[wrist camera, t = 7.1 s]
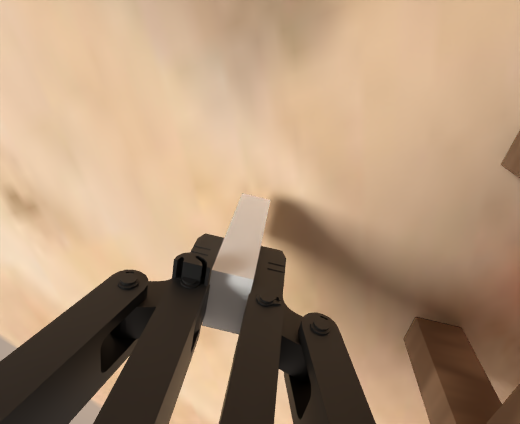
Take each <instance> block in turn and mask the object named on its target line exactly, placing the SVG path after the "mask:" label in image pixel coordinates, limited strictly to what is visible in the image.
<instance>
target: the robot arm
mask: <svg viewBox="0 0 520 424" xmlns="http://www.w3.org/2000/svg"><path fill="white" fill-rule="evenodd" d="M270 201H271V200H269V199H265V198H261V197H256V196H252V195H248V194H244V193H242V195H241V197H240V200H239V202H238V205H237V207H236V210H235V212H234V215H233V217H232V220H231V223H230V225H229V228H228V230H227V233H226V235H225V238H222V237H218V236H214V235H209V234H204V235H202V236H201V237H199V238H198V239H197V241H196V243H195V245H194V247H193V248H192V250H191V252H190V253H183V254H181V255H178V256H177V257H176V258H175V259H174V265H173V275H172V279H170V280H166V281H148V278H147V277H146V275H145V274H143V273H142V272H140V271H136V270H123V271H119V272H117V273H115V274H113V275H112V276H111V277H109V278H108V279H107V280H105V281H104V282H103V283H102V284H100V285H99V286H98V287H96V288H95V289H94V290H92V291H91V292H90V293H89V294H87V295H86V296H85V297H83V298H82V299H81V300H79V301H78V302H77V303H76V304H74V305H73V306H72V307H70V308H69V309H68V310H66V311H65V312H64V313H63V314H61V315H60V316H59V317H57V318H56V319H55V320H54V321H52V322H51V323H50V324H48V325H47V326H46V327H44V328H43V329H42V330H41V331H39V332H38V333H37V334H35V335H34V336H33V337H31V338H30V339H29V340H28V341H26V342H25V343H24V344H22V345H21V346H20V347H19V348H17V349H16V350H15V351H13V352H12V353H11V354H10V355H8V356H7V357H6V358H4V359H3V360H2V361H0V424H69V423H70V421H71V420H72V419H73V418H74V417H75V416H76V415H77V414H78V412H79V411H80V410H81V409H82V408H83V407H84V406H85V405H86V404H87V402H88V401H89V400H90V399H91V398H92V397H93V396H94V395H95V394H96V392H97V391H98V390H99V389H100V388H101V387H102V386H103V385H104V384H105V382H106V381H107V380H108V379H109V378H110V377H111V376H112V375H113V373H114V372H115V371H116V370H117V369H118V368H119V367H120V366H121V365H122V363H123V362H124V361H125V360H126V359H127V358H128V357H129V356H130V357H129V358H128V360H127V362H126V364H125V366H124V368H123V370H122V371H121V373H120V375H119V377H118V379H117V381H116V382H115V384H114V386H113V388H112V390H111V392H110V394H109V395H108V397H107V399H106V401H105V403H104V405H103V407H102V408H101V410H100V412H99V414H98V416H97V418H96V420H95V422H94V423H93V424H169V421H170V418H171V415H172V413H173V410H174V407H175V404H176V401H177V398H178V395H179V392H180V390H181V387H182V384H183V381H184V378H185V375H186V372H187V370H188V367H189V364H190V361H191V358H192V355H193V352H194V349H195V347H196V344H197V341H198V338H199V334H200V328H201V325H202V326H207V327H211V328H215V329H219V330H223V331H227V332H232V333H236V334H239V337H238V342H237V346H236V350H235V354H234V358H233V363H232V368H231V372H230V377H229V381H228V385H227V390H226V394H225V399H224V403H223V407H222V412H221V416H220V421H219V424H274V415H275V404H276V392H277V381H278V369H280V370H282V371H284V378H285V383H286V388H287V393H288V398H289V403H290V409H291V414H292V419H293V424H376V423H375V420H374V418H373V415H372V413H371V410H370V408H369V405H368V403H367V400H366V397H365V395H364V392H363V390H362V387H361V385H360V382H359V380H358V377H357V375H356V372H355V369H354V367H353V364H352V362H351V359H350V357H349V354H348V352H347V349H346V347H345V344H344V341H343V339H342V336H341V334H340V331H339V329H338V327H337V325H336V324H335V322H334V321H333V320H332V319H330V318H329V317H327V316H325V315H323V314H320V313H308V314H307V315H305V316H304V317H302V316H300V315H298V314H296V313H295V312H293V311H291V310H290V309H289V308H288V307H287V306H286V304H285V303H284V300H283V286H284V275H285V274H284V273H285V264H286V258H285V256H284V254H283V252H282V251H280V250H276V249H272V248H268V247H263V246H261V243H262V238H263V233H264V229H265V224H266V219H267V215H268V210H269V205H270ZM202 322H203V324H202Z"/></svg>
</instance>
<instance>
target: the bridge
mask: <svg viewBox="0 0 520 424" xmlns="http://www.w3.org/2000/svg"><path fill="white" fill-rule="evenodd" d="M501 165H502V166H503V167H505V168H506V169H508V170H509V171H511V172H512V173H514V174H515V175H516V176H518V177H519V178H520V131H519V133H518V135H517V137H516V138H515V140H514V142H513V144H512V146H511V147H510V149H509V151H508V153H507V155H506V156H505V158H504V160H503V162H502V163H501ZM404 341H405V345H406V348H407V351H408V354H409V357H410V361H411V364H412V367H413V370H414V373H415V377H416V380H417V383H418V386H419V389H420V392H421V396H422V399H423V402H424V405H425V408H426V412H427V415H428V418H429V421H430V424H520V384H519V385H518V387H517V388H516V389H515V390H514V391H513V392H512V394H511V395H510V396H509V397H508V398H507V399H506V401H505V402H504V403H503V404H501V402H500V400H499V398H498V396H497V394H496V392H495V390H494V389H493V387H492V385H491V383H490V381H489V379H488V377H487V375H486V373H485V371H484V369H483V367H482V365H481V364H480V362H479V360H478V358H477V356H476V354H475V352H474V350H473V348H472V346H471V344H470V342H469V341H468V339H467V337H466V335H465V333H464V331H463V329H462V328H460V327H456V326H452V325H448V324H443V323H439V322H435V321H431V320H427V319H422V318H418V317H415V319H414V321H413V323H412V325H411V326H410V328H409V330H408V332H407V334H406V335H405V337H404Z"/></svg>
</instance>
